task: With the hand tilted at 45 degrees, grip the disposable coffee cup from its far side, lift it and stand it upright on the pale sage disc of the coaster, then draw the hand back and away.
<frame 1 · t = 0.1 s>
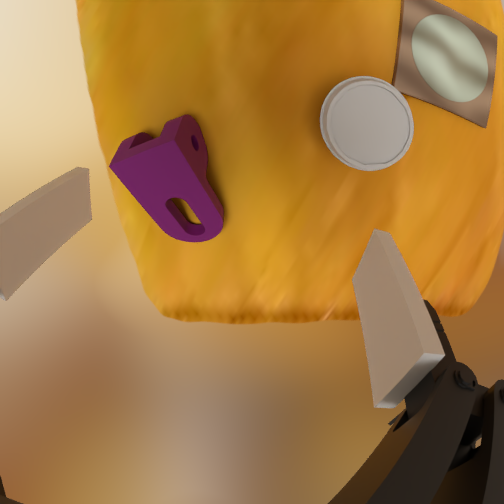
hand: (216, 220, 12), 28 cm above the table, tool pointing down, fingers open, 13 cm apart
coaster: (448, 57, 25), on the table
disposable coffee cup: (348, 114, 33), on the table
mounting bracket: (186, 180, 42), on the table
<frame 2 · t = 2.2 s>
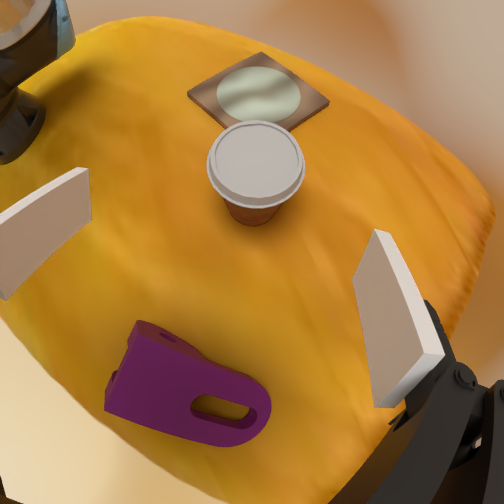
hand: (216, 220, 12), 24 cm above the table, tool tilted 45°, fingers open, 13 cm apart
coaster: (258, 97, 42), on the table
disposable coffee cup: (252, 203, 38), on the table
mounting bracket: (198, 387, 33), on the table
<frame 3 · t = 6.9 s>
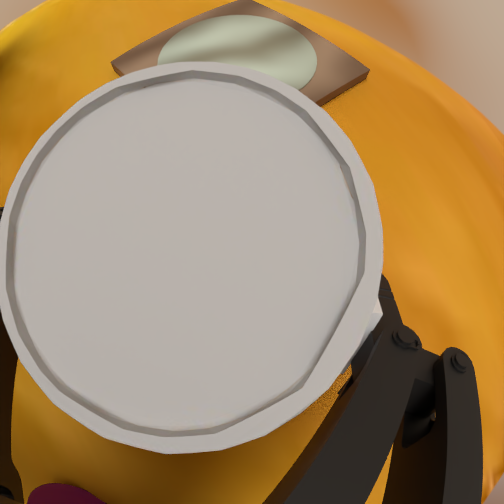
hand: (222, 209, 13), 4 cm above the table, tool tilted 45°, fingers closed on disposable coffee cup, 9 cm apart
coaster: (237, 62, 21), on the table
disposable coffee cup: (214, 287, 17), on the table, touching gripper
when the fingers open (7 cm above the table, at t = 12.6 s): disposable coffee cup drops 1 cm, resting on coaster.
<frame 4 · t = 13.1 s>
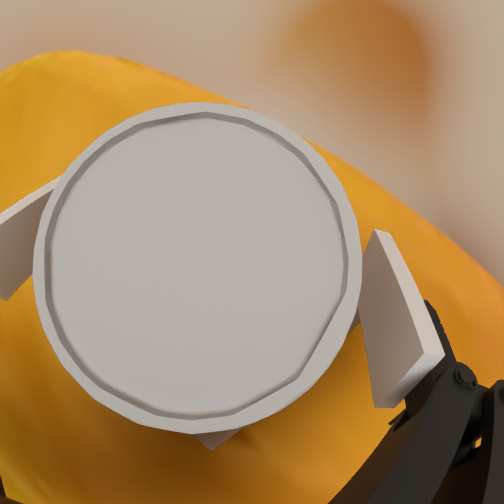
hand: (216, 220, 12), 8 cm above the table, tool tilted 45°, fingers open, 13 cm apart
coaster: (218, 291, 20), on the table
disposable coffee cup: (215, 291, 18), point 1 cm above the table, touching coaster
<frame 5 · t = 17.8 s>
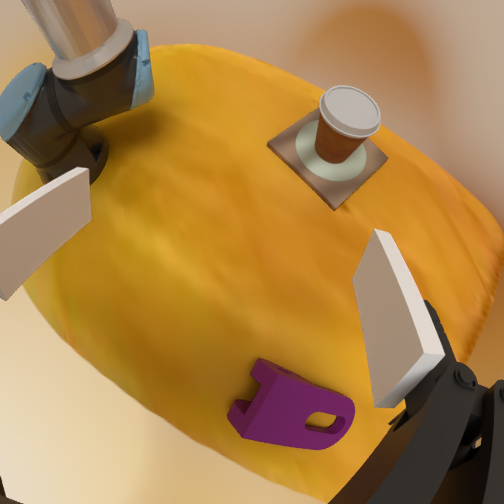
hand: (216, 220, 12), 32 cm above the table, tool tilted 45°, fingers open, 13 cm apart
coaster: (330, 152, 49), on the table
disposable coffee cup: (331, 149, 47), point 1 cm above the table, touching coaster
mounting bracket: (296, 405, 40), on the table
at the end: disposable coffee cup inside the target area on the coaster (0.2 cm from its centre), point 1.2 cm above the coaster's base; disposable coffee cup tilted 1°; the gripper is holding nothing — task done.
